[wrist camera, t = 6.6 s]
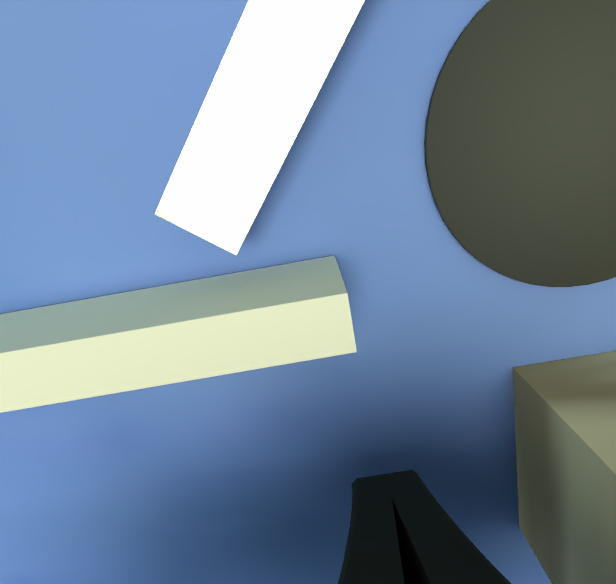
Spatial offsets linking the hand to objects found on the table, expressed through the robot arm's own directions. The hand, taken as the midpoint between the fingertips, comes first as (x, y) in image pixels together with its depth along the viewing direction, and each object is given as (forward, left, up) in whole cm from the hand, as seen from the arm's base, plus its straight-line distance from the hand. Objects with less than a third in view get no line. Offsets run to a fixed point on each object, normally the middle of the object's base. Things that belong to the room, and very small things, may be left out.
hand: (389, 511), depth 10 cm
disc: (+9, 0, -1) cm, 9 cm away
